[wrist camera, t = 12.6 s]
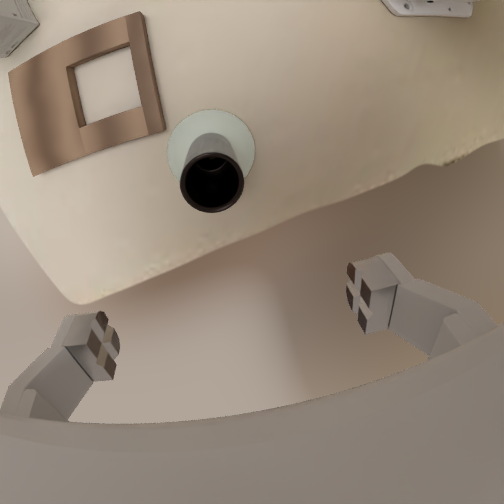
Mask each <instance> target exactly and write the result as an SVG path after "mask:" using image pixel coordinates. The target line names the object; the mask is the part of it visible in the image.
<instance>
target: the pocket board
mask: <svg viewBox="0 0 504 504" xmlns="http://www.w3.org/2000/svg"><path fill="white" fill-rule="evenodd" d="M127 46H130V49H131V54H132V60H133V65H134V70H135V75H136V80H137V85H138V90H139V95H140V99H141V104H142V106H141V107H138V108H135V109H132V110H128V111H125V112H122V113H119V114H116V115H113V116H110V117H107V118H105V119H102V120H99V121H96V122H94V123H91V124H88V125H86V123H85V119H84V115H83V111H82V107H81V102H80V98H79V93H78V88H77V83H76V78H75V73H74V67H76V66H78V65H80V64H83V63H85V62H87V61H90V60H92V59H95V58H97V57H100V56H102V55H105V54H108V53H110V52H113V51H116V50H119V49H122V48H124V47H127ZM8 76H9V82H10V88H11V94H12V99H13V104H14V109H15V114H16V118H17V122H18V126H19V131H20V134H21V138H22V142H23V146H24V149H25V153H26V156H27V159H28V163H29V166H30V169H31V172H32V175H33V177H34V176H36V175H38V174H41V173H43V172H45V171H48V170H50V169H52V168H55V167H57V166H60V165H62V164H64V163H67V162H70V161H72V160H75V159H77V158H80V157H83V156H85V155H88V154H91V153H94V152H96V151H99V150H102V149H105V148H108V147H111V146H114V145H117V144H120V143H124V142H127V141H130V140H133V139H137V138H140V137H143V136H147V135H151V134H154V133H158V132H162V131H164V130H165V129H166V125H165V121H164V116H163V112H162V107H161V103H160V98H159V93H158V88H157V84H156V79H155V74H154V69H153V64H152V58H151V53H150V48H149V42H148V36H147V31H146V25H145V19H144V15H143V14H142V13H141V12H140V11H139V12H136V13H133V14H130V15H127V16H124V17H121V18H118V19H115V20H113V21H110V22H107V23H105V24H102V25H99V26H97V27H94V28H92V29H90V30H87V31H85V32H83V33H80V34H78V35H76V36H74V37H72V38H69V39H67V40H65V41H63V42H61V43H59V44H57V45H55V46H53V47H51V48H49V49H47V50H46V51H44V52H42V53H40V54H38V55H37V56H35V57H33V58H31V59H30V60H28V61H26V62H25V63H23V64H21V65H20V66H18V67H16V68H15V69H13V70H12V71H10V72H9V73H8Z"/></svg>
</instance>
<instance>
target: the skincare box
mask: <svg viewBox="0 0 504 504" xmlns="http://www.w3.org/2000/svg"><path fill="white" fill-rule="evenodd" d="M38 25H39V23H38V21H37V20H36V18H35V17H34V15H33V13H32V11H31V9H30V7H29V5H28V3H27V0H0V57H7V56H8V55H9V54H10V53H11V52H12V51H13V50H14V49H15V48H16V47H17V46H18V45H19V44H20V43H21V42H22V41H23V40H24V39H25V38H26V37H27V36H28V35H29V34H30V33H31V32H32V31H33V30H34V29H35V28H37V27H38Z"/></svg>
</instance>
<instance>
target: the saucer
mask: <svg viewBox="0 0 504 504" xmlns="http://www.w3.org/2000/svg"><path fill="white" fill-rule="evenodd" d="M205 133H217V134H220V135H222V136H224V137H225V138H226V139H227V140H228V141H229V142H230V144H231V146H232V148H233V150H234V153H235V155H236V157H237V160H238V162H239V164H240V167H241V169H242V172H243V175H244V178H245V177H246V176H247V175H248V173H249V171H250V170H251V167H252V165H253V162H254V157H255V144H254V140H253V137H252V134H251V132H250V131H249V129H248V128H247V126H246V125H245V124H244V123H243V122H242V121H241V120H240V119H239V118H237V117H236V116H234V115H233V114H231V113H228V112H226V111H222V110H216V109H208V110H202V111H198V112H195V113H193V114H191V115H189V116H188V117H186V118H185V119H184V120H182V121H181V122H180V123H179V124H178V125H177V127H176V128H175V129H174V131H173V133H172V134H171V137H170V139H169V142H168V147H167V159H168V164H169V167H170V169H171V171H172V173H173V175H174V176H175V178H176V179H177V180H178V181H179V182H180V176H181V173H182V169H183V166H184V163H185V160H186V156H187V153H188V150H189V147H190V145H191V144H192V142H193V141H194V140H195V139H196V138H197V137H198V136H200V135H202V134H205Z"/></svg>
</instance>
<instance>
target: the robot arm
mask: <svg viewBox="0 0 504 504" xmlns="http://www.w3.org/2000/svg"><path fill="white" fill-rule="evenodd" d="M382 1H383V3H384V4H385V5H386V7H387V8H388V9H389V10H390V11H391V12H392V13H393V14H394V15H396V16H444V17H460V18H467V17H470V16H471V15H472V11H473V2H476V1H481V0H382ZM404 5H405V6H406V8H405V7H404ZM347 275H348V276H349V278H350V280H349V281H348V283H347V284H346V294H347V300H348V303H349V306H350V308H351V310H352V311H353V312H355V313H357V314H358V323H359V324H360V326H361V328H362V330H363V332H364V334H370V333H374V332H377V331H381V330H384V329H388V328H389V330H390V331H392V332H393V333H395V334H397V335H398V336H400V337H401V338H403V339H404V340H406V341H407V342H409V343H410V344H412V345H413V346H415V347H416V348H418V349H419V350H421V351H423V352H424V353H426V354H427V355H429V357H428V360H427V361H426V362H423V363H420V364H418V365H416V366H414V367H411V368H408V369H406V370H403V371H401V372H398V373H395V374H393V375H390V376H387V377H384V378H381V379H379V380H376V381H373V382H370V383H367V384H364V385H360V386H357V387H354V388H351V389H348V390H344V391H341V392H338V393H334V394H331V395H327V396H323V397H320V398H316V399H312V400H308V401H304V402H300V403H296V404H291V405H286V406H282V407H277V408H272V409H267V410H262V411H256V412H251V413H245V414H239V415H232V416H225V417H217V418H209V419H200V420H191V421H179V422H165V423H144V424H142V423H141V424H99V423H77V422H69V421H68V418H69V417H70V415H71V414H72V412H73V411H74V410H75V408H76V407H77V405H78V404H79V402H80V401H81V399H82V398H83V397H84V395H85V394H86V392H87V391H88V390H89V388H90V387H91V385H92V384H93V381H106V380H113V378H114V374H115V369H116V363H115V361H114V359H115V358H116V357H117V356H118V354H119V350H120V342H119V338H118V335H117V333H116V331H115V329H114V328H112V327H111V326H109V325H108V318H107V316H106V314H105V313H104V312H102V311H94V312H86V313H79V314H72V315H67V316H65V317H64V319H63V321H62V323H61V325H60V327H59V330H58V332H57V334H56V336H55V339H54V341H53V344H52V346H51V348H47V349H46V350H45V351H44V352H43V353H42V354H41V355H40V356H39V357H38V358H37V359H36V360H35V361H34V362H33V363H32V364H31V365H30V366H29V367H28V368H27V369H26V370H25V371H24V372H23V373H22V374H21V375H20V376H19V377H18V378H17V379H16V380H15V381H14V382H13V383H12V384H11V385H10V386H9V387H8V390H7V392H6V395H5V398H4V401H3V403H2V406H1V410H0V504H504V322H503V323H502V324H500V325H498V326H497V325H496V324H495V322H494V321H493V320H492V319H491V317H490V316H489V315H488V314H487V313H486V312H485V311H484V309H482V307H481V306H480V305H479V304H478V302H476V301H473V300H471V299H468V298H466V297H464V296H461V295H459V294H456V293H454V292H451V291H449V290H446V289H444V288H441V287H439V286H436V285H434V284H431V283H429V282H426V281H424V280H421V279H416V280H415V279H414V278H413V276H412V275H411V274H410V273H409V272H408V271H407V270H406V269H405V267H404V266H403V265H402V264H401V263H400V262H399V261H398V260H397V258H396V257H395V256H394V255H393V254H392V253H389V252H388V253H384V254H381V255H377V256H375V257H371V258H367V259H362V260H359V261H354V262H350V263H348V266H347Z"/></svg>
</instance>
